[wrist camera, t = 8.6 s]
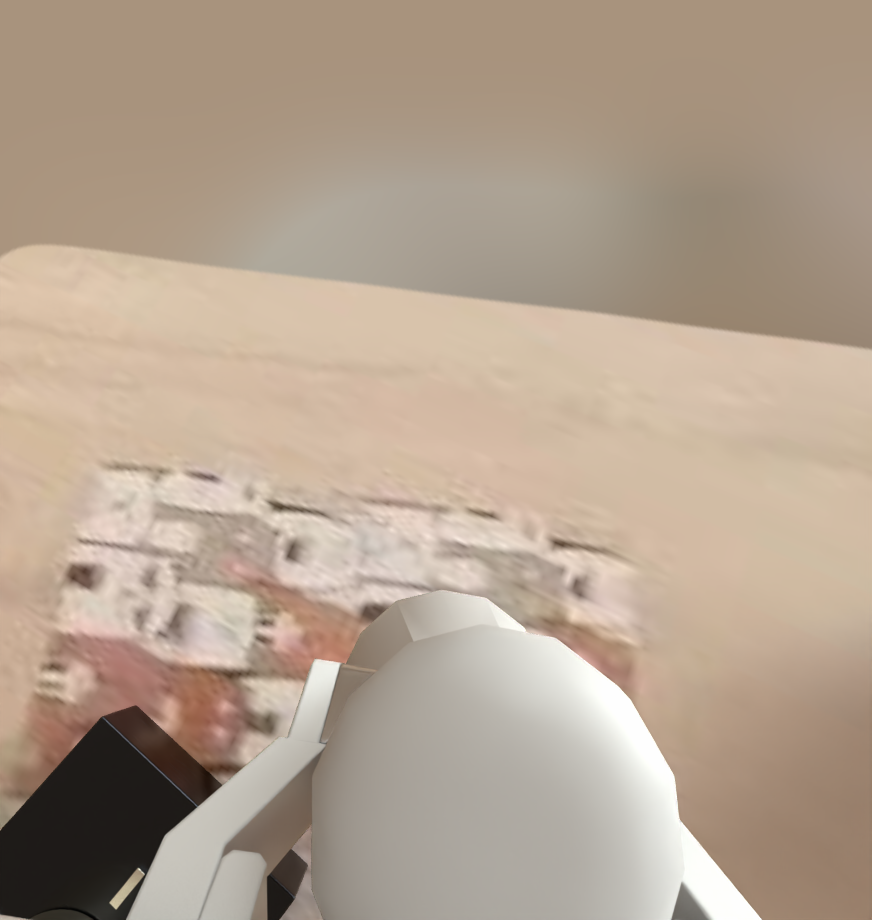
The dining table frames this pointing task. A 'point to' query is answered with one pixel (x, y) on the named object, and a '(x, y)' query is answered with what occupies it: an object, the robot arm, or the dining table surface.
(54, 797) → the timer panel
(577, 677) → the salt shaker
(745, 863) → the dining table surface
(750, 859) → the dining table surface
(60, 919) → the dial
